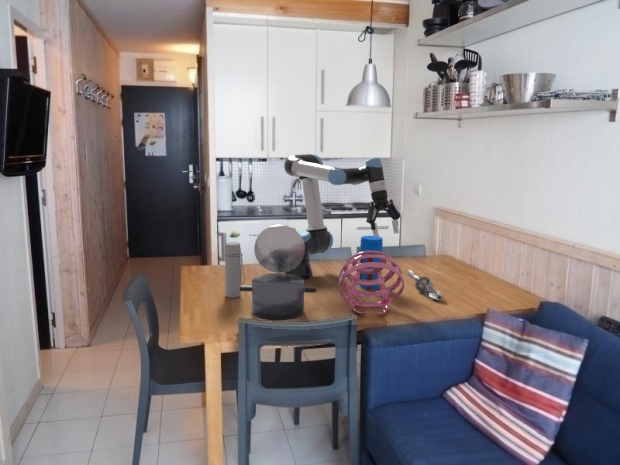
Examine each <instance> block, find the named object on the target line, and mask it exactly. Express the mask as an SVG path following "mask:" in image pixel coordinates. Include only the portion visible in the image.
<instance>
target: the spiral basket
mask: <svg viewBox="0 0 620 465" xmlns="http://www.w3.org/2000/svg"><path fill="white" fill-rule="evenodd" d="M364 254H365V255H364ZM364 258H381V262H366V263H361V264H360V263H359V262H358V261H360V259H364ZM387 261H388V262H391V264H389V263H387ZM351 264H352V266H351V267H349V266H350V265H351ZM369 267H373V268H372V269H365V268H369ZM384 269H386V270H388V272H387V273H386V274H385V275H384V276H382V274H381V275H380V271H381V272H382V271H383V270H384ZM354 272H356V273H355V275H353V273H354ZM361 273H363V274H376V275H377V279H375V280H361V279H359V275H360V274H361ZM395 274H396V275H397V276H398V277H397V279H396V281H394V283H392V284H391V285H389V286H388V287H386V282H388V281H389V280H390V279H392V278H393V277H394V275H395ZM345 278H347V280H349V281H350V286H348V285H347V284H346V282H345V281H344V279H345ZM400 284H401V287H400V289H399V290H398V292H396V294H394V295H392V296H391V297H389V294H391V293H392V292H393V291H394V290H396V289H397V288H398V287H399V286H400ZM337 285H338V286H337V287H338V290H339V291H338V293H339V294H340V296H341V297H342V299H344V300H345V301H346V302H347V303H348V304H349V306H350V307H351V309H352V310H353V311H354V312H355V313H356V314H358V315H360V316H361V315H363V316H364V315H367V314H369V311H368V310H367V311H363V312H362V311H359V310H358V309H357V308H356V306H358V307H363V308H377V307H382V311H381V312H379V311H376V314H377V315H379V316H383V315H385V314H387V311H388V309H389V305H390V304H391V303H393V302H394V301H396V300H397V299H399V297H400V296H401V295H402V293H403V292H404V288H405V279H404V276H403V271H402V268H401V267H400V264H399V263H398V262H396V260H394V259H393V257H392V256H390V255H388V254H387V253H385V252H383V251H382V252H380V251H373V250H370V251H363V252H360V251H359V252H357V253H355V254H353V255H351V257H349V258H348V259H347V260H346V262H345V263H344V264H343V266H342V267H341V269H340V272H339V274H338V284H337ZM359 285H363V286H374V285H379V286H380V288H379V290H377V291H360V290H357V289H356V286H359ZM342 288H343V290H345V292H347V293H348V296H347V295H346V294H345V293H344V292H343V290H342ZM355 297H361V298H376V297H377V298H378V297H381V298H382V300H380V301H375V302H363V301H359V300H356V299H355Z"/></svg>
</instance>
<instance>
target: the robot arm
mask: <svg viewBox="0 0 620 465" xmlns="http://www.w3.org/2000/svg"><path fill="white" fill-rule="evenodd" d="M364 163H365V165H364V166H361V167H353V168H352V167H350V168H349V167H348V168H341V167H336V166H330V165H327V164H326V165H325V164H324V162H323V160H322V159H321V157H319V155H316V154H312V153H311V154H310V153H309V154H293V155H292V154H291V155H290V156H288V157H287V158H286V159H285V161H284V163H283V164H284V165H283V168H284V170H285V173H286V174H287V175H289V176H290V177H296V178H298V180H299V181H300V183H302V187H303V188H302V189H303V197H304V204H305V210H306V211H305V212H306V220H307V221H306V222H307V228H306V230H301V231H299V230H298V231H297V230H296V231H297V232H298V233H299V234H300V235H301V237H302V239H303V241H304V245H305V254H304V257H303V260H302V261H301V263H300V264H299V265H298V266H297V267H296V268H295V269H293V270H291V271H288V272H284V274H292V275H297V276H299V277H302V278H303V279H304V280H308V279H311V278H313V276H314V274H313V268H312V266H311V261H310V260H311V258H310V257H311V256H312V255H318V254H323V253H327V252H329V251H330V250H331V249H332V247H333V244H334V237H333V234H332V233H331V231H329V230H328V227H327V226H326V225H325V223H324V216H323V209H322V208H323V207H322V202H321V201H322V200H321V195H320V193H321V192H320V186H319V181H323V182H328V183H330V184H331V185H333V186H341V185H352V186H357V185H360V184H364V183H367V182H368V185H369V189H370V192H371V193H370V195H371V200H372V201H370V202H368V209H367V210H368V211H367V215H366V223H367V224H369V225H370V229H371V231H372V236H374V237H380V234H379V230H378V223H377V222H376V220H377V218H378V215H379V213H380V211H385V212H386V213H387V214H388V216H389V217H390V218H391V219H392V220H391V222H392V223H391V224H392V229H393V234H400V230H399V221H398V220H400V218H401V214H400V213H399V211H398V209H397V208H396V205H395V204H394V201H393V199H392V198H390V199H388V191H387V190H386V189H387V186H386V180H385V175H384V168H383V164H382V160H381V158H380V157H373V158H368V159H367V160H365V162H364Z"/></svg>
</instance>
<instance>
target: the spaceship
mask: <svg viewBox="0 0 620 465" xmlns="http://www.w3.org/2000/svg"><path fill="white" fill-rule="evenodd" d="M407 275H408V276H409V277H410V278H411V279H413V281H414V282H415V283H414V284H415V289H416V290H417V291H418V292H424V293H423V294H424V295H425V297H430V298H432V299H435V300H437V301H441V299H442V297H443V296H442V293H441V291H440V290H437V289H436V288H435V287H433V286H434V283H433V282H432V281H431V280H430V278H429V277H428V276H421V275H415V272H414V271H413V270H412V269H408V270H407Z"/></svg>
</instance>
